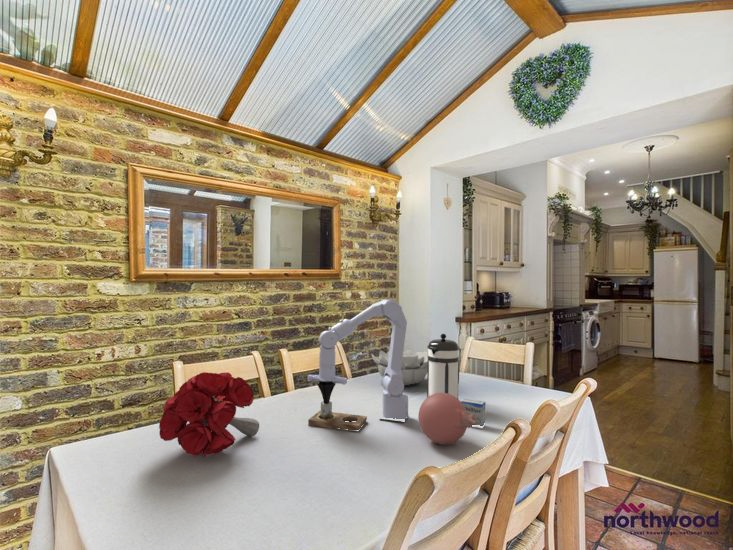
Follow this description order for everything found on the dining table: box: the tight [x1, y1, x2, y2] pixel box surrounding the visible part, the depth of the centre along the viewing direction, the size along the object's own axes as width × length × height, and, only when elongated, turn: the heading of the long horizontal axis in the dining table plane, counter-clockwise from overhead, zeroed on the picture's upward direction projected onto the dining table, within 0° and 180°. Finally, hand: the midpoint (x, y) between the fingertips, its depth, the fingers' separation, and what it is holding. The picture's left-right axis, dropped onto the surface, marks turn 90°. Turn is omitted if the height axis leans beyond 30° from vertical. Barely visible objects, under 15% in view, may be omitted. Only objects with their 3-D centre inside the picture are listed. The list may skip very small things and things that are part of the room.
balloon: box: [418, 393, 477, 445], centre depth 120 cm, size 15×20×15 cm
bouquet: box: [158, 371, 260, 458], centre depth 116 cm, size 22×24×30 cm
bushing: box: [320, 401, 333, 419], centre depth 138 cm, size 4×4×7 cm
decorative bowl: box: [371, 349, 428, 386], centre depth 193 cm, size 30×30×15 cm
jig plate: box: [307, 410, 368, 431], centre depth 137 cm, size 18×10×2 cm, turn 73°
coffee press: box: [426, 333, 460, 399], centre depth 158 cm, size 17×16×30 cm
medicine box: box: [460, 398, 486, 426], centre depth 137 cm, size 8×4×9 cm, turn 62°
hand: (326, 402), depth 138 cm, fingers closed, pressing on bushing
